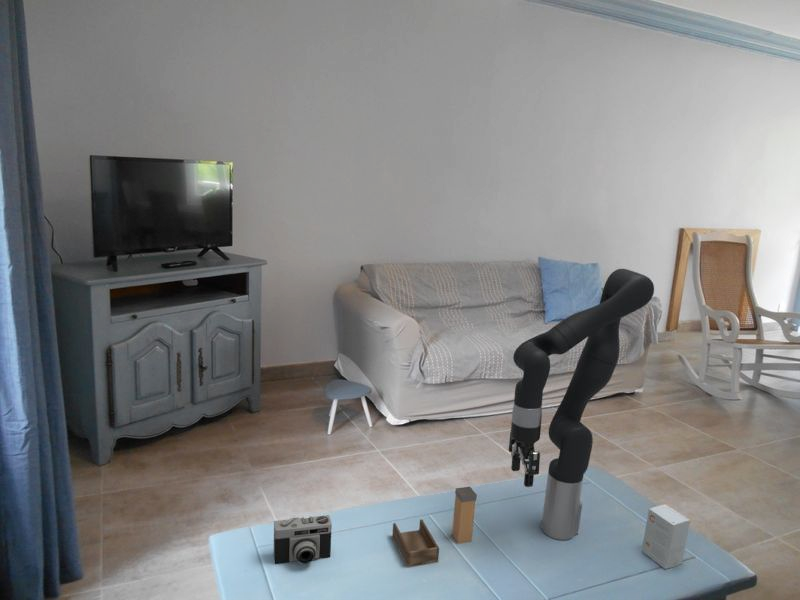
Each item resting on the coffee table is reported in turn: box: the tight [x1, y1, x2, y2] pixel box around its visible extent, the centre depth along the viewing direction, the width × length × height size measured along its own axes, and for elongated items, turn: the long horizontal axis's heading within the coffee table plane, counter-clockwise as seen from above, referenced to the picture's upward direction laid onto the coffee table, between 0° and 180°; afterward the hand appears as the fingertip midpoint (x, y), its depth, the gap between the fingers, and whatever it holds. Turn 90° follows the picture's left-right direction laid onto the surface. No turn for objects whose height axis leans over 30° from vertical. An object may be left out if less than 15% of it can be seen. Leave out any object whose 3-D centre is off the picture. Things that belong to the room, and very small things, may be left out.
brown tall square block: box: [451, 486, 478, 544], centre depth 161 cm, size 4×4×14 cm
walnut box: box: [392, 519, 440, 568], centre depth 157 cm, size 8×13×4 cm, turn 18°
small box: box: [641, 503, 691, 570], centre depth 158 cm, size 8×6×13 cm
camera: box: [273, 514, 333, 565], centre depth 149 cm, size 14×8×10 cm, turn 105°
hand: (521, 478), depth 160 cm, fingers open, 8 cm apart
